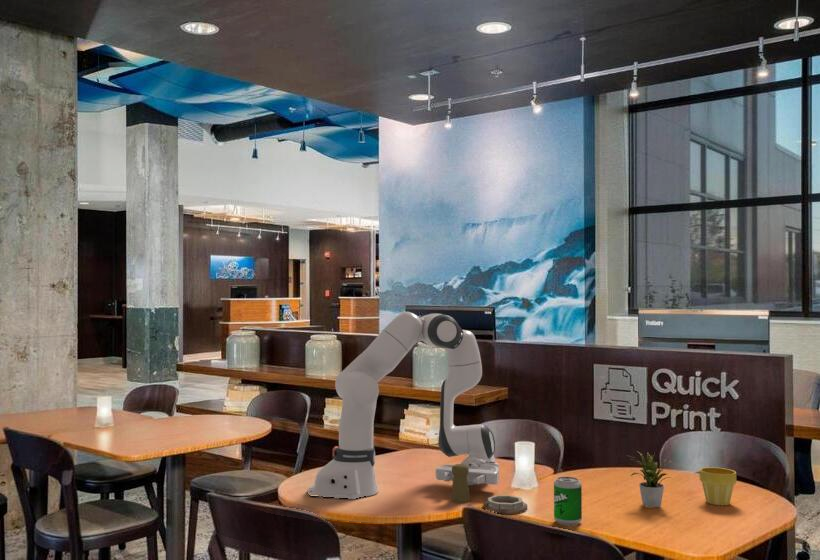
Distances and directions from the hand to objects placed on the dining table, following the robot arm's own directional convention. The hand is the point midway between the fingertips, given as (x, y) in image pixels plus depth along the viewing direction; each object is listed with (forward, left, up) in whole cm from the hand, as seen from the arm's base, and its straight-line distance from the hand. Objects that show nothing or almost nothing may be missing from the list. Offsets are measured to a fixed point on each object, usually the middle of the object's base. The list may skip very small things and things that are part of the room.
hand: (461, 480), depth 235 cm
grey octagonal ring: (+13, -9, -6) cm, 17 cm away
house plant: (+56, -4, -6) cm, 56 cm away
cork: (0, -1, -6) cm, 6 cm away
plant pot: (+78, -1, -6) cm, 78 cm away
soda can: (+29, -23, -6) cm, 37 cm away
